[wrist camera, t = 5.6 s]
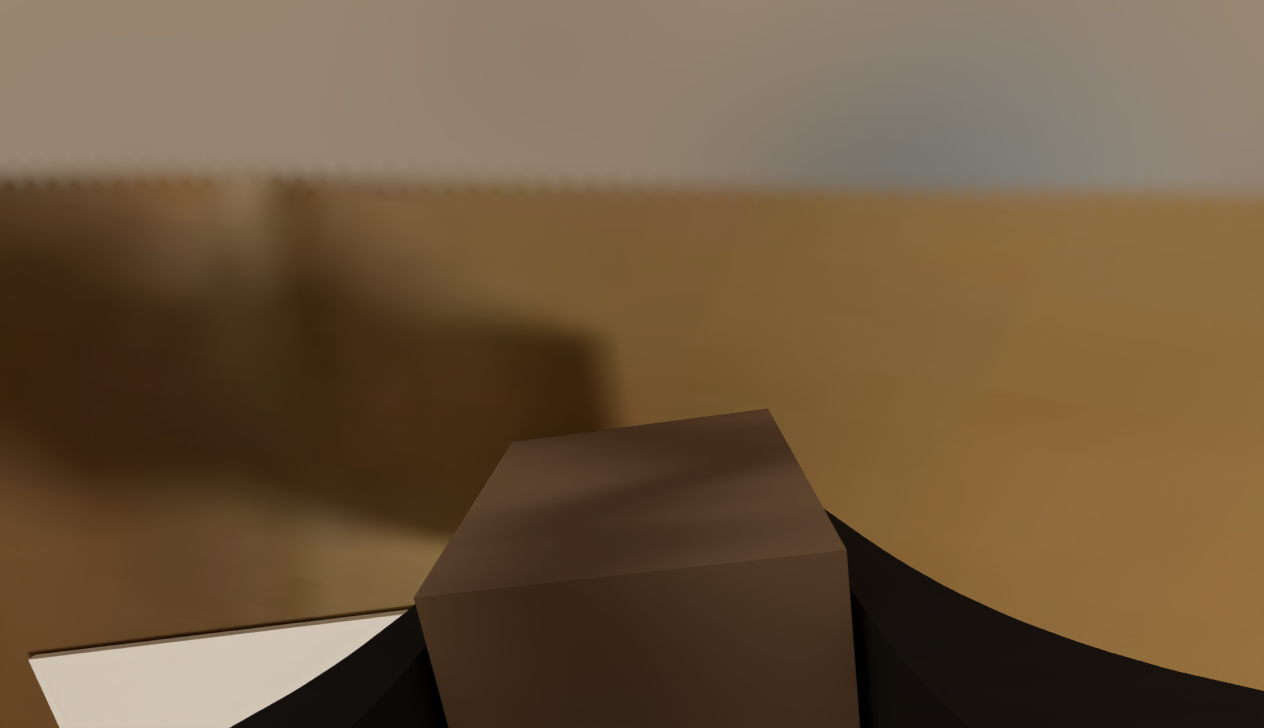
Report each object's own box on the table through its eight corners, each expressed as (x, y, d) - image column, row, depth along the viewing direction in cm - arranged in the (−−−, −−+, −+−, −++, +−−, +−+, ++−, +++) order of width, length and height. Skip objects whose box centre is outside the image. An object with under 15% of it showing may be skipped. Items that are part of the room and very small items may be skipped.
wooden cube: (768, 409, 12) (846, 549, 7) (791, 634, 13) (872, 891, 8) (512, 441, 12) (413, 597, 7) (557, 657, 13) (499, 917, 8)
